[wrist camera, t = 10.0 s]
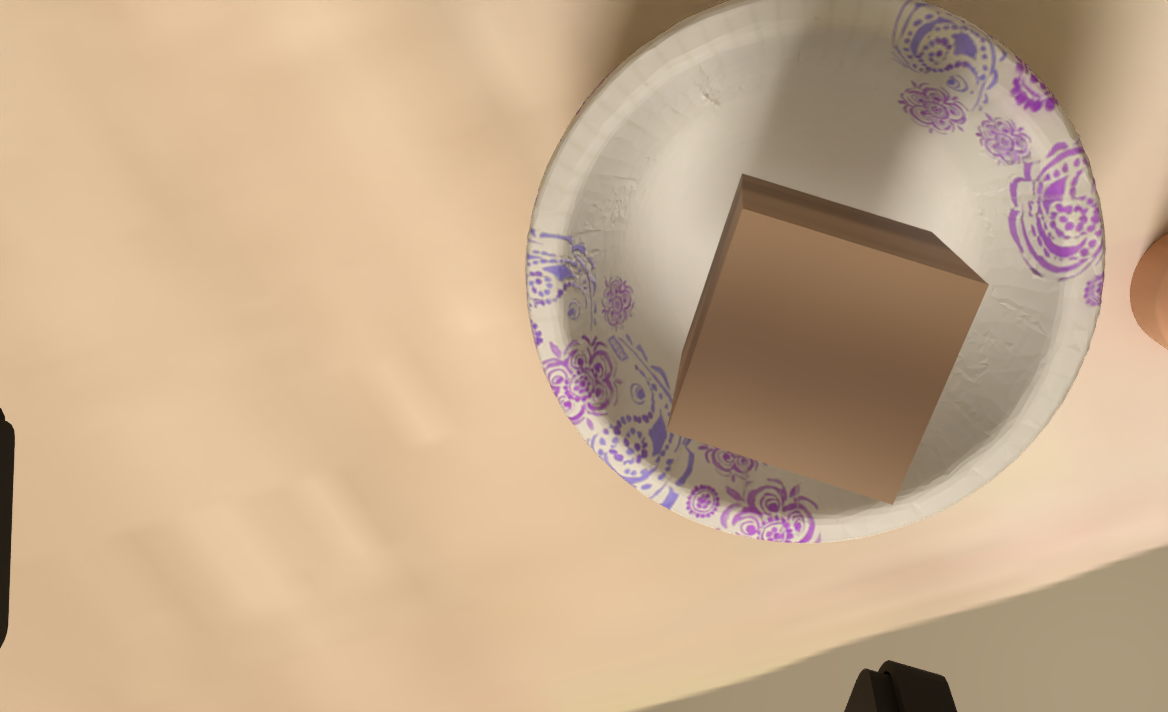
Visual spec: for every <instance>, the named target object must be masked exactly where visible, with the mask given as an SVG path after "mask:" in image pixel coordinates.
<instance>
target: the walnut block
mask: <svg viewBox="0 0 1168 712" xmlns="http://www.w3.org/2000/svg"><path fill="white" fill-rule="evenodd" d="M988 286H989V284H988V283H987V282H985V281H984V280H983V279H982V278H981V277H980V276H979V275H978V274H977V273H976V272H975V271H974V270H973V269H971V268H970V267H969V266H968V265H967V264H966V263H965V262H964V261H963V260H962V259H961V258H960V257H958V256H957V255H956V254H955V253H954V252H953V251H952V250H951V249H950V248H949V247H948V246H947V245H946V244H944V243H943V242H942V241H941V240H940V239H939V238H938V237H937V236H936V235H935V234H934V233H933V232H931V231H928V230H924V229H921V228H918V227H915V226H911V225H908V224H905V223H902V222H898V221H895V220H892V219H889V218H885V217H882V216H879V215H876V214H872V213H869V212H866V211H863V210H859V209H856V208H853V207H850V206H846V205H843V204H840V203H837V202H833V201H830V200H827V199H824V198H821V197H817V196H814V195H811V194H808V193H804V192H801V191H798V190H795V189H791V188H788V187H785V186H782V185H778V184H775V183H772V182H769V181H765V180H762V179H759V178H756V177H752V176H749V175H746V174H743V173H742V175H741V178H740V181H739V184H738V187H737V190H736V193H735V196H734V199H733V202H732V204H731V207H730V210H729V213H728V216H727V219H726V222H725V225H724V228H723V231H722V234H721V237H720V240H719V243H718V246H717V249H716V252H715V255H714V258H713V261H712V264H711V267H710V270H709V273H708V276H707V279H706V282H705V285H704V288H703V291H702V294H701V297H700V300H699V303H698V306H697V309H696V312H695V315H694V318H693V320H692V323H691V326H690V329H689V332H688V335H687V338H686V341H685V344H684V347H683V350H682V355H681V360H680V365H679V370H678V376H677V381H676V386H675V391H674V396H673V402H672V407H671V412H670V417H669V422H668V428H667V432H670V433H673V434H676V435H679V436H683V437H686V438H689V439H692V440H695V441H698V442H701V443H704V444H707V445H710V446H713V447H716V448H719V449H723V450H726V451H729V452H732V453H735V454H738V455H741V456H744V457H747V458H750V459H753V460H756V461H759V462H763V463H766V464H769V465H772V466H775V467H778V468H781V469H784V470H787V471H790V472H793V473H796V474H799V475H802V476H806V477H809V478H812V479H815V480H818V481H821V482H824V483H827V484H830V485H833V486H836V487H839V488H842V489H846V490H849V491H852V492H855V493H858V494H861V495H864V496H867V497H870V498H873V499H876V500H879V501H882V502H886V503H889V504H892V505H893V503H894V501H895V499H896V496H897V494H898V492H899V490H900V487H901V485H902V483H903V480H904V478H905V476H906V474H907V471H908V469H909V467H910V464H911V462H912V460H913V458H914V455H915V453H916V451H917V448H918V446H919V444H920V442H921V439H922V437H923V435H924V432H925V430H926V428H927V426H928V423H929V421H930V419H931V416H932V414H933V412H934V410H935V407H936V405H937V403H938V400H939V398H940V396H941V394H942V391H943V389H944V387H945V384H946V382H947V380H948V378H949V375H950V373H951V371H952V368H953V366H954V364H955V362H956V359H957V357H958V355H959V352H960V350H961V348H962V346H963V343H964V341H965V339H966V336H967V334H968V332H969V330H970V327H971V325H972V323H973V320H974V318H975V316H976V313H977V311H978V309H979V307H980V304H981V302H982V300H983V297H984V295H985V293H986V291H987V288H988Z"/></svg>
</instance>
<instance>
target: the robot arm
mask: <svg viewBox="0 0 1168 712" xmlns="http://www.w3.org/2000/svg"><path fill="white" fill-rule="evenodd" d="M14 448H15V434H14V429H13V427H12V425H11V424H10V423H9V422H7V421H5V416H4V414H3V412H2V409H1V408H0V648H1V646H2V644H3V642H4V640H5V637H6V634H7V629H8V615H9V587H10V559H11V531H12V503H13V475H14ZM844 712H957V710H956V707H955V704H954V701H953V698H952V695H951V692H950V688H949V685H948V683H947V681H946V679H945V677H943V676H941V675H938V674H935V673H931V672H928V671H924V670H921V669H918V668H914V667H911V666H907V665H904V664H900V663H897V662H893V661H890V660H888V661H886V662H884V663H883V665H882V666H881V667H880V669H879V671H878V672H876V671H873V670H869V669H863V670H862V671H861V673H860V674H859V676H858V678H857V680H856V683H855V686H854V688H853V691H852V693H851V696H850V698H849V701H848V703H847V706H846V709H845V711H844Z"/></svg>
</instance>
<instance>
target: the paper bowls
mask: <svg viewBox="0 0 1168 712" xmlns="http://www.w3.org/2000/svg"><path fill="white" fill-rule="evenodd" d="M742 173H743V174H746V175H749V176H752V177H756V178H759V179H762V180H765V181H769V182H772V183H775V184H778V185H782V186H785V187H788V188H791V189H795V190H798V191H801V192H804V193H808V194H811V195H814V196H817V197H821V198H824V199H827V200H830V201H833V202H837V203H840V204H843V205H846V206H850V207H853V208H856V209H859V210H863V211H866V212H869V213H872V214H876V215H879V216H882V217H885V218H889V219H892V220H895V221H898V222H902V223H905V224H908V225H911V226H915V227H918V228H921V229H924V230H928V231H931V232H933V233H934V234H935V235H936V236H937V237H938V238H939V239H940V240H941V241H942V242H943V243H944V244H946V245H947V246H948V247H949V248H950V249H951V250H952V251H953V252H954V253H955V254H956V255H957V256H958V257H960V258H961V259H962V260H963V261H964V262H965V263H966V264H967V265H968V266H969V267H970V268H971V269H973V270H974V271H975V272H976V273H977V274H978V275H979V276H980V277H981V278H982V279H983V280H984V281H985V282H987V283H988V284H989V286H988V288H987V291H986V293H985V295H984V297H983V300H982V302H981V304H980V307H979V309H978V311H977V313H976V316H975V318H974V320H973V323H972V325H971V327H970V330H969V332H968V334H967V336H966V339H965V341H964V343H963V346H962V348H961V350H960V352H959V355H958V357H957V359H956V362H955V364H954V366H953V368H952V371H951V373H950V375H949V378H948V380H947V382H946V384H945V387H944V389H943V391H942V394H941V396H940V398H939V400H938V403H937V405H936V407H935V410H934V412H933V414H932V416H931V419H930V421H929V423H928V426H927V428H926V430H925V432H924V435H923V437H922V439H921V442H920V444H919V446H918V448H917V451H916V453H915V455H914V458H913V460H912V462H911V464H910V467H909V469H908V471H907V474H906V476H905V478H904V480H903V483H902V485H901V487H900V490H899V492H898V494H897V496H896V499H895V501H894V503H893V505H892V504H889V503H886V502H882V501H879V500H876V499H873V498H870V497H867V496H864V495H861V494H858V493H855V492H852V491H849V490H846V489H842V488H839V487H836V486H833V485H830V484H827V483H824V482H821V481H818V480H815V479H812V478H809V477H806V476H802V475H799V474H796V473H793V472H790V471H787V470H784V469H781V468H778V467H775V466H772V465H769V464H766V463H763V462H759V461H756V460H753V459H750V458H747V457H744V456H741V455H738V454H735V453H732V452H729V451H726V450H723V449H719V448H716V447H713V446H710V445H707V444H704V443H701V442H698V441H695V440H692V439H689V438H686V437H683V436H679V435H676V434H673V433H670V432H667V428H668V422H669V417H670V412H671V407H672V402H673V396H674V391H675V386H676V381H677V376H678V370H679V365H680V360H681V355H682V350H683V347H684V344H685V341H686V338H687V335H688V332H689V329H690V326H691V323H692V320H693V318H694V315H695V312H696V309H697V306H698V303H699V300H700V297H701V294H702V291H703V288H704V285H705V282H706V279H707V276H708V273H709V270H710V267H711V264H712V261H713V258H714V255H715V252H716V249H717V246H718V243H719V240H720V237H721V234H722V231H723V228H724V225H725V222H726V219H727V216H728V213H729V210H730V207H731V204H732V202H733V199H734V196H735V193H736V190H737V187H738V184H739V181H740V178H741V175H742ZM1105 250H1106V247H1105V231H1104V223H1103V216H1102V210H1101V204H1100V198H1099V195H1098V193H1097V190H1096V185H1095V179H1094V177H1093V175H1092V170H1091V166H1090V162H1089V159H1088V157H1087V155H1086V153H1085V151H1084V149H1083V146H1082V143H1081V141H1080V137H1079V134H1077V133H1076V131H1075V128H1074V126H1073V124H1072V123H1071V121H1070V120H1069V118H1068V116H1067V115H1066V113H1065V112H1064V110H1063V108H1062V107H1061V105H1060V104H1059V102H1058V101H1057V100H1056V99H1055V98H1054V96H1053V94H1052V93H1051V92H1050V91H1049V90H1048V88H1047V87H1046V86H1045V85H1044V84H1043V82H1042V81H1041V80H1040V79H1039V78H1038V77H1037V76H1036V75H1035V74H1034V73H1033V72H1032V70H1031V69H1030V68H1029V67H1028V66H1027V64H1025V63H1023V62H1022V61H1021V60H1020V59H1019V58H1018V57H1017V56H1016V55H1015V54H1014V53H1013V52H1012V51H1011V50H1009V49H1008V48H1006V47H1005V46H1004V45H1002V44H1001V43H1000V42H999V41H997V40H996V39H995V38H994V37H992V36H990V35H988V34H987V33H986V32H985V31H983V30H982V29H980V28H979V27H977V26H976V25H974V24H973V23H971V22H969V21H968V20H966V19H964V18H962V17H959V16H956V15H954V14H952V13H951V12H949V11H947V10H945V9H943V8H941V7H939V6H935V5H931V4H929V3H927V2H924V1H922V0H729V1H727V2H724V3H721V4H719V5H716V6H713V7H711V8H708V9H706V10H703V11H701V12H699V13H697V14H694V15H692V16H690V17H688V18H685V19H683V20H681V21H680V22H678V23H676V24H675V25H673V26H672V27H670V28H669V29H668V30H666V31H664V32H663V33H661V34H660V35H658V36H657V37H655V38H654V39H652V40H651V41H649V42H648V43H646V44H645V45H643V46H642V47H640V48H639V49H638V50H637V51H635V52H634V53H633V54H632V55H630V56H629V57H628V58H627V59H626V60H624V61H623V62H622V63H621V64H620V65H618V66H617V67H616V68H615V69H614V70H613V71H612V72H611V73H610V74H609V75H608V76H607V77H606V78H605V79H604V80H603V81H602V82H601V83H600V84H599V85H598V86H597V87H596V88H595V90H594V91H593V92H592V93H591V95H590V96H589V97H588V98H587V99H586V100H585V102H584V103H583V105H582V107H581V108H580V109H579V111H578V112H577V113H576V115H575V116H574V118H573V119H572V121H571V123H570V124H569V126H568V128H567V129H566V131H565V133H564V135H563V136H562V138H561V140H560V142H559V143H558V145H557V147H556V149H555V151H554V153H553V155H552V157H551V159H550V161H549V163H548V165H547V167H546V170H545V172H544V175H543V178H542V181H541V183H540V186H539V189H538V195H537V198H536V201H535V204H534V207H533V211H532V217H531V223H530V228H529V232H528V236H527V249H526V266H525V272H526V290H527V307H528V313H529V318H530V324H531V330H532V334H533V338H534V342H535V346H536V349H537V353H538V356H539V359H540V362H541V365H542V368H543V371H544V373H545V375H546V377H547V380H548V382H549V383H550V386H551V388H552V390H553V393H554V395H555V396H556V397H557V399H558V402H559V404H560V406H561V408H562V409H563V411H564V412H565V414H566V415H567V417H568V418H569V419H570V421H571V422H572V424H573V426H574V427H575V428H576V430H577V431H578V433H579V434H580V435H581V436H582V438H583V439H584V440H585V441H586V443H587V444H588V445H589V446H590V447H591V448H592V449H593V451H594V452H595V453H596V454H597V455H598V456H599V457H600V458H601V459H602V460H603V461H604V462H605V463H606V464H607V465H608V466H609V467H610V468H611V469H612V470H614V471H615V472H616V473H617V474H618V475H619V476H621V477H622V478H623V479H624V480H625V481H627V482H628V483H629V484H630V485H632V486H633V487H634V488H636V489H637V490H639V491H640V492H641V493H642V494H643V495H644V496H647V497H649V498H650V499H652V500H653V501H655V502H657V503H659V504H661V505H662V506H664V507H666V508H668V509H669V510H672V511H673V512H675V513H677V514H679V515H681V516H683V517H686V518H688V519H690V520H693V521H695V522H697V523H700V524H702V525H705V526H708V527H711V528H714V529H717V530H721V531H724V532H727V533H731V534H735V535H741V536H744V537H747V538H753V539H758V540H768V541H775V542H786V543H826V542H837V541H846V540H852V539H859V538H865V537H869V536H873V535H878V534H881V533H885V532H888V531H892V530H896V529H898V528H901V527H904V526H907V525H910V524H913V523H915V522H918V521H921V520H924V519H926V518H928V517H931V516H933V515H935V514H937V513H939V512H941V511H943V510H945V509H947V508H948V507H950V506H952V505H954V504H956V503H957V502H959V501H961V500H962V499H964V498H966V497H967V496H969V495H970V494H972V493H973V492H975V491H976V490H978V489H979V488H981V487H983V486H984V485H985V484H987V483H988V482H989V481H991V480H992V479H993V478H994V477H995V476H997V475H998V474H999V473H1000V472H1002V471H1003V470H1004V469H1005V468H1007V467H1008V466H1009V465H1010V464H1011V463H1012V462H1014V461H1015V460H1016V459H1017V458H1018V457H1019V456H1020V455H1021V454H1022V452H1023V451H1024V450H1025V449H1026V448H1027V447H1028V446H1029V445H1030V444H1031V443H1032V442H1033V441H1034V440H1035V439H1036V437H1037V436H1038V435H1039V434H1040V432H1041V431H1042V430H1043V429H1044V428H1045V427H1046V426H1047V424H1048V423H1049V421H1050V420H1051V418H1052V417H1053V415H1054V414H1055V412H1056V411H1057V410H1058V408H1059V407H1060V406H1061V404H1062V403H1063V401H1064V399H1065V397H1066V395H1067V393H1068V392H1069V390H1070V388H1071V386H1072V384H1073V383H1074V381H1075V379H1076V377H1077V375H1078V372H1079V370H1080V368H1081V365H1082V363H1083V360H1084V357H1085V356H1086V354H1087V352H1088V350H1089V347H1090V342H1091V339H1092V336H1093V333H1094V330H1095V327H1096V322H1097V318H1098V316H1099V313H1100V307H1101V302H1102V301H1101V296H1102V288H1103V282H1104V268H1105Z"/></svg>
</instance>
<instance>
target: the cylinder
mask: <svg viewBox="0 0 1168 712" xmlns="http://www.w3.org/2000/svg"><path fill="white" fill-rule="evenodd" d="M1130 302H1131V308H1132V311H1133V314H1134V317H1135V319H1136V321H1137V323H1138V324H1139V326H1140V327H1141V328H1142V330H1143V331H1144V332H1145V333H1146V334H1147V335H1148V336H1149V337H1151V338H1152V339H1153V340H1155V341H1156V342H1157V343H1159V344H1160V345H1162V346H1163V347H1164V348H1166V349H1167V350H1168V233H1166V234H1165V235H1163V236H1162V237H1161V238H1159V239H1158V240H1157V241H1156V242H1155V243H1154V244H1153V245H1152V246H1151V247H1150V248H1149V249H1148V250H1147V251H1146V252H1145V254H1144V255H1143V256H1142V258H1141V259H1140V261H1139V263H1138V265H1137V267H1136V269H1135V271H1134V274H1133V277H1132V281H1131V287H1130Z"/></svg>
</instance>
